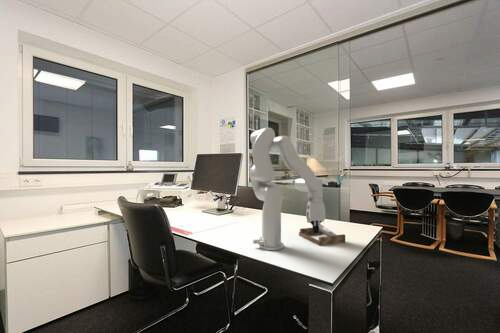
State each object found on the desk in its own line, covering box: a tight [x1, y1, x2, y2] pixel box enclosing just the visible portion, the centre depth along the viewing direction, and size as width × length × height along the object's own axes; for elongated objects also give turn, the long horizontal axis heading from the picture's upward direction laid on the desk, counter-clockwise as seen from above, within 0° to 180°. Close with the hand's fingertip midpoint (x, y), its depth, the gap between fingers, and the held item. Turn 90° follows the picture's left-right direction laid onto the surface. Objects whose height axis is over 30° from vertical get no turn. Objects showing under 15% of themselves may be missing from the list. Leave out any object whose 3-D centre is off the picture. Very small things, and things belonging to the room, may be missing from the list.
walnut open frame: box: [298, 227, 346, 246], centre depth 130 cm, size 17×19×4 cm
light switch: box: [319, 223, 337, 236], centre depth 131 cm, size 8×6×14 cm
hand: (315, 232), depth 128 cm, fingers closed
